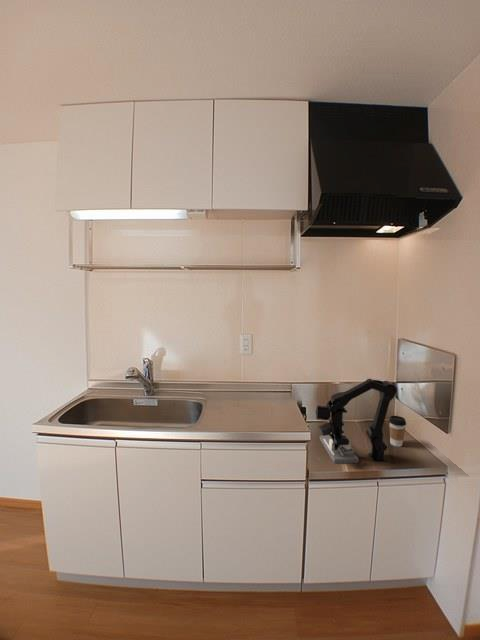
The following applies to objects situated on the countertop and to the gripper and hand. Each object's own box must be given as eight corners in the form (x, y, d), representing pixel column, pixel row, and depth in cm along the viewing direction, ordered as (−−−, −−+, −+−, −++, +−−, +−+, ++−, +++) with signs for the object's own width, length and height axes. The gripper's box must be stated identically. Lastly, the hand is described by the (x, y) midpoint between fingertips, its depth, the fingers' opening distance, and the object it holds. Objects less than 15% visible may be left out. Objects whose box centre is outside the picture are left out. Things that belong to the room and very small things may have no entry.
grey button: (352, 450, 153) (352, 446, 152) (344, 450, 152) (344, 446, 152) (349, 446, 157) (349, 442, 156) (341, 446, 156) (341, 442, 156)
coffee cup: (387, 445, 164) (388, 419, 163) (387, 438, 172) (389, 413, 170) (404, 449, 160) (406, 422, 159) (404, 442, 168) (406, 416, 166)
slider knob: (337, 449, 156) (337, 443, 156) (331, 449, 156) (331, 443, 156) (334, 445, 160) (334, 439, 160) (329, 445, 160) (329, 439, 160)
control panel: (358, 462, 148) (358, 456, 148) (334, 463, 148) (334, 456, 147) (340, 438, 172) (340, 432, 172) (319, 438, 172) (319, 433, 171)
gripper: (315, 412, 162) (314, 440, 163) (327, 428, 143) (326, 459, 145) (335, 412, 162) (334, 439, 164) (350, 428, 144) (348, 459, 145)
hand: (335, 449), depth 154 cm, fingers closed
